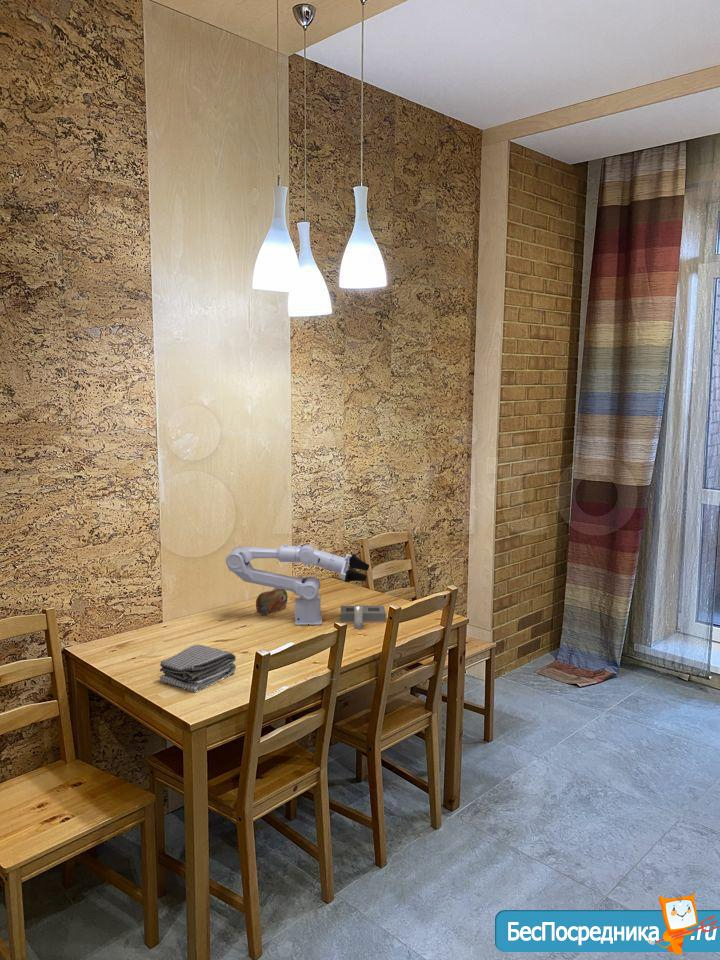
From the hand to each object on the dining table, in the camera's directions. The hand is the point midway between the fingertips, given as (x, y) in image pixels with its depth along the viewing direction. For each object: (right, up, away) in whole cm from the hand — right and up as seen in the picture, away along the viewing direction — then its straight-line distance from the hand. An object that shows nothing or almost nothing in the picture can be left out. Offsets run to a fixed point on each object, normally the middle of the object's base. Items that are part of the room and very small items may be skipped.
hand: (367, 573), depth 269 cm
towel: (-51, -26, -46) cm, 73 cm away
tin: (-36, -17, +15) cm, 42 cm away
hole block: (-2, -18, +7) cm, 19 cm away
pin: (-3, -19, -3) cm, 20 cm away
